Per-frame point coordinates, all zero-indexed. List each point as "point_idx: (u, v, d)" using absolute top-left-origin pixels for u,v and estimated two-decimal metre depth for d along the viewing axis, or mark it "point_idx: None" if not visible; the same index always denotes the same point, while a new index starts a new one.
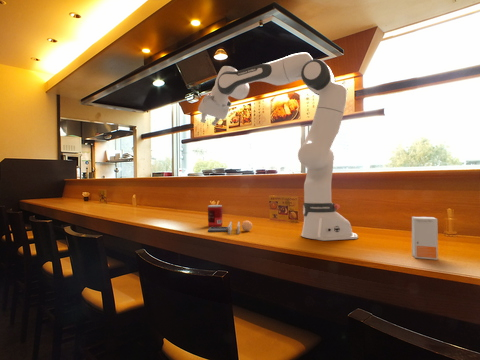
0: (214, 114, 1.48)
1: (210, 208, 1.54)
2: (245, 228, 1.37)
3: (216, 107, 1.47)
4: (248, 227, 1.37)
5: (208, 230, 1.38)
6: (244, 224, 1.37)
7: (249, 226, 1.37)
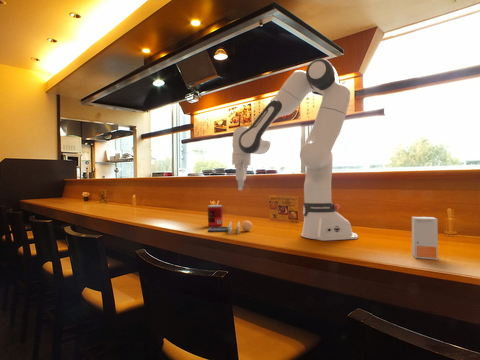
0: None
1: (210, 208, 1.54)
2: (245, 228, 1.37)
3: (244, 170, 1.40)
4: (248, 227, 1.37)
5: (208, 230, 1.38)
6: (244, 224, 1.37)
7: (249, 226, 1.37)
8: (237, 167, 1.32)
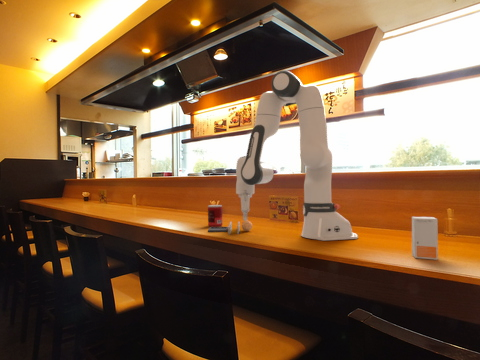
0: None
1: (210, 208, 1.54)
2: (245, 228, 1.37)
3: None
4: (248, 227, 1.37)
5: (208, 230, 1.38)
6: (244, 224, 1.37)
7: (249, 226, 1.37)
8: (242, 198, 1.30)
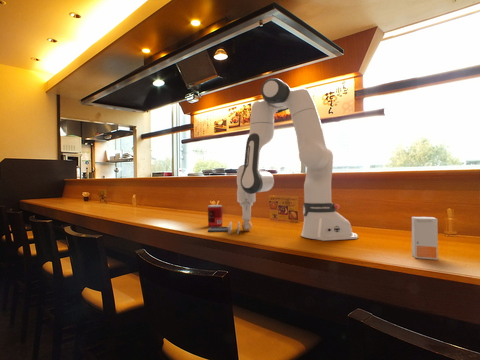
0: None
1: (210, 208, 1.54)
2: None
3: None
4: None
5: (208, 230, 1.38)
6: (244, 224, 1.37)
7: (249, 226, 1.37)
8: (244, 207, 1.30)
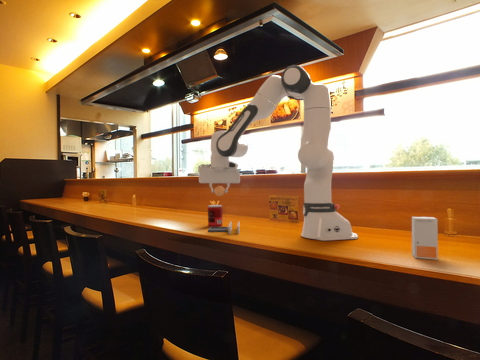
0: (218, 180, 1.41)
1: (210, 208, 1.54)
2: None
3: (218, 173, 1.41)
4: None
5: (208, 230, 1.38)
6: None
7: None
8: None
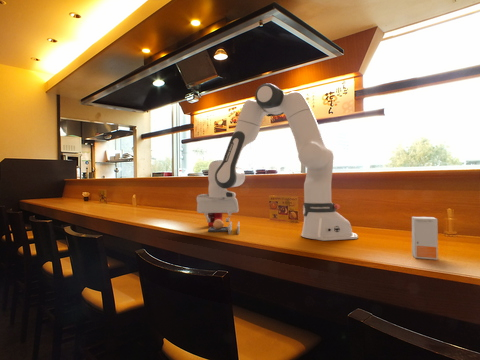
0: (216, 210, 1.41)
1: None
2: None
3: (216, 203, 1.41)
4: (213, 225, 1.42)
5: (208, 230, 1.38)
6: None
7: (213, 225, 1.42)
8: None
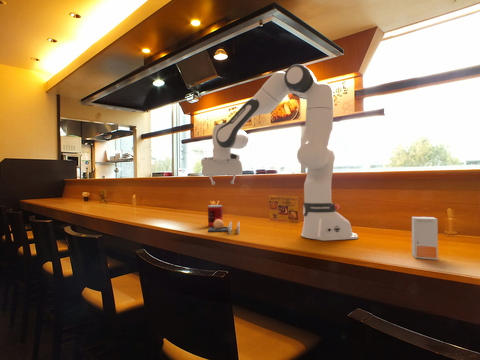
0: (221, 172, 1.44)
1: (210, 208, 1.54)
2: None
3: (220, 165, 1.44)
4: (213, 225, 1.42)
5: (208, 230, 1.38)
6: None
7: (213, 224, 1.42)
8: None
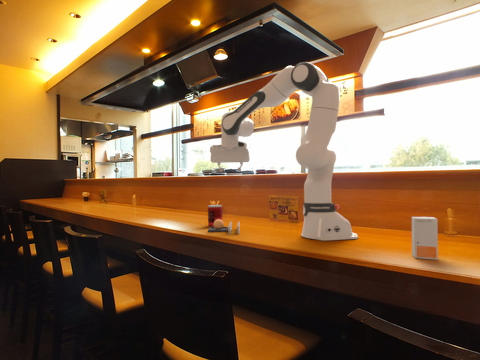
0: (229, 159, 1.50)
1: (210, 208, 1.54)
2: None
3: (228, 152, 1.50)
4: None
5: (208, 230, 1.38)
6: None
7: (213, 224, 1.42)
8: None
